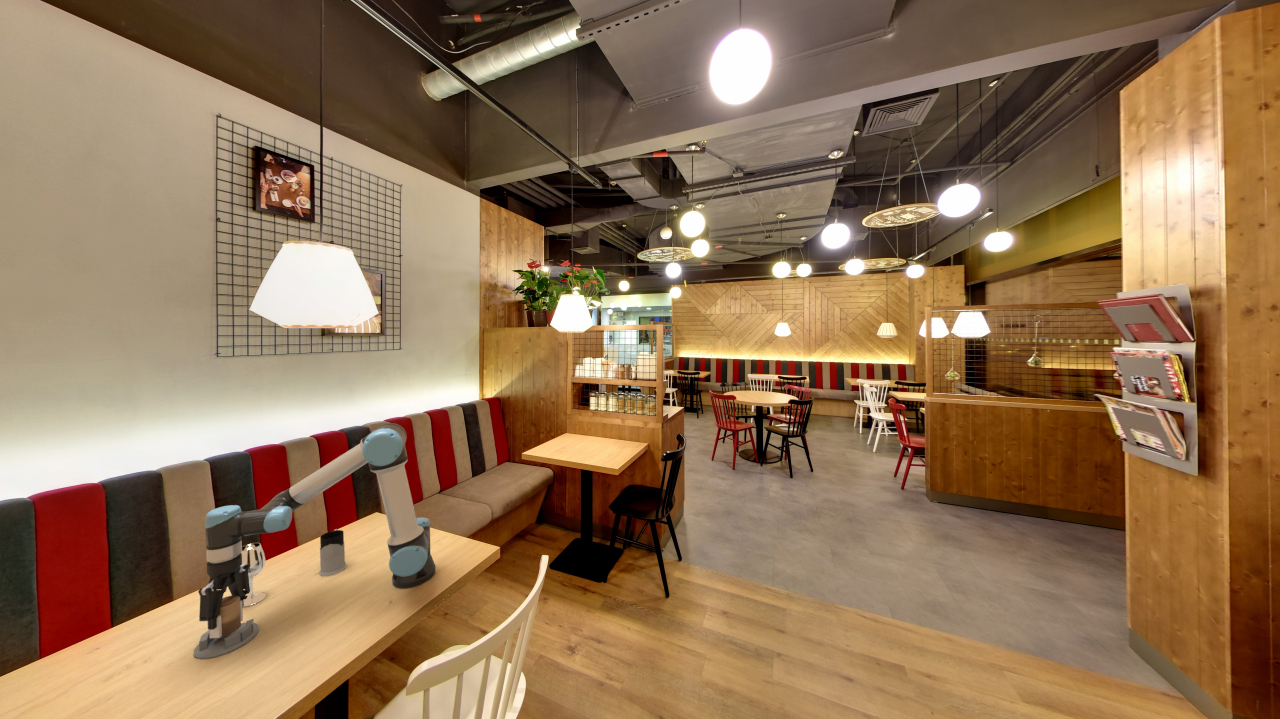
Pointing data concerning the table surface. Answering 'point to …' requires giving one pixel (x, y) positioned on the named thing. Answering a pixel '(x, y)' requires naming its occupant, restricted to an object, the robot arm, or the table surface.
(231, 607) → the stopper
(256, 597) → the wineglass
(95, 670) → the table surface
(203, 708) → the table surface
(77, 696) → the table surface
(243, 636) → the grey round base
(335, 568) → the glass holder
